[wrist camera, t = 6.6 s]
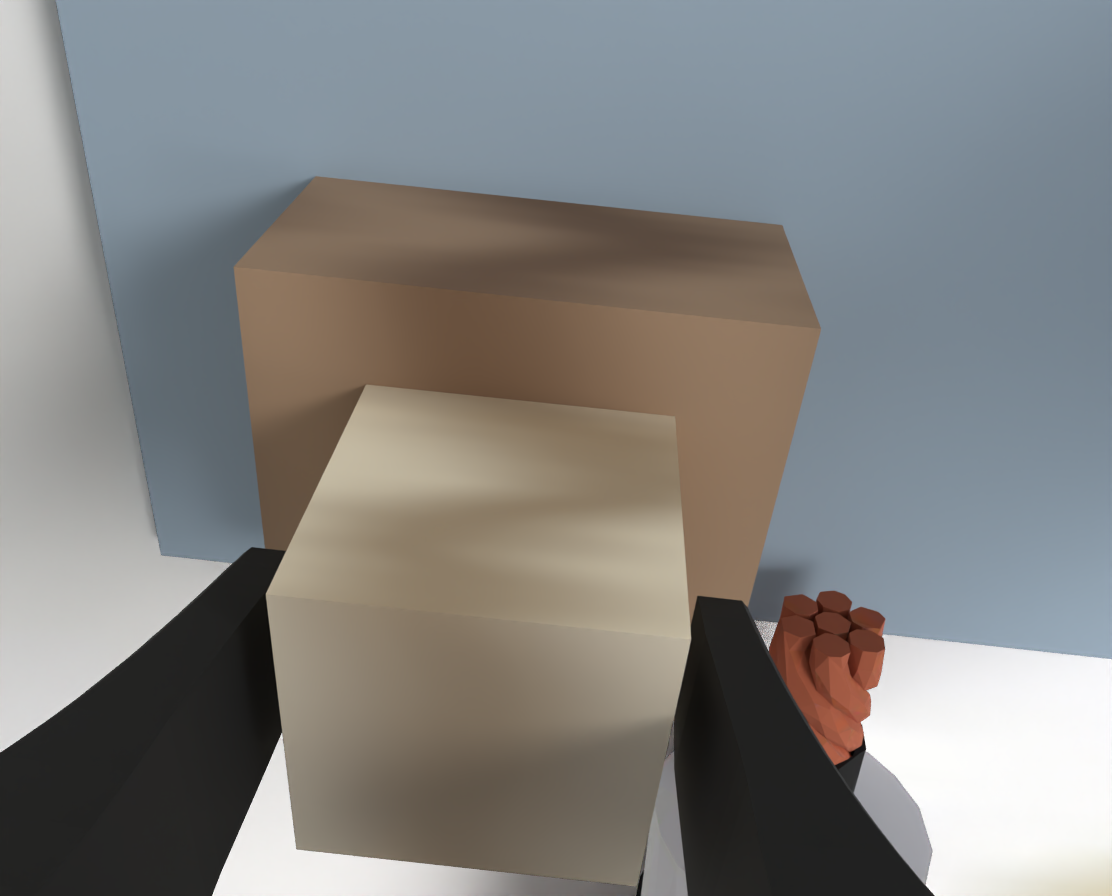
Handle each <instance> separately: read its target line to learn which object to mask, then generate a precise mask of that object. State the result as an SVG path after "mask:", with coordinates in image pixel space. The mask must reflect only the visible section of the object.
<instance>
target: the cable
mask: <svg viewBox="0 0 1112 896" xmlns="http://www.w3.org/2000/svg"><path fill="white" fill-rule="evenodd" d="M851 605H852V601H851V600H850V599H849V598H848V597H847V596H846V595H845V594H843V593H840V592H837V591H823V592H820V593H819V595H818V597H817V599H816V601H814V600H812V599H810V598H809V597H807V596H805V595H803V594H799V595H792V596H784V601H783V606H782V611H781V615H780V619H779V622H778V624H777V627H776V630H775V633H774V636H773V638H772V641H771V644H770V647H769V653H770V655H771V657H772V659H773V661H774V663H775V665H776V667H777V669H778V671H779V672H780V674H781V676H782V678H783V680H784V682H785V684H786V685H787V687H788V689H789V691H790V693H791V694H792V696H793V698H794V700H795V701H796V703H797V705H798V706H799V708H800V710H801V712H802V713H803V715H804V717H805V718H806V720H807V722H808V723H809V725H810V727H811V729H812V730H813V732H814V734H815V735H816V737H817V738H818V740H819V742H820V743H821V745H822V746H823V748H824V750H825V751H826V753H827V754H828V756H829V757H830V759H831V760H832V762H833V763H834V765H835V766H836V768H837V769H838V771H839V772H840V774H841V775H842V777H843V778H844V780H845V781H846V783H847V784H848V786H849V787H850V789H851V790H852V792H853V793H854V794H855V796H856V797H857V799H858V800H859V802H860V803H861V804H862V806H863V807H864V808H865V810H866V811H867V813H868V814H869V815H870V817H871V818H872V819H873V821H874V822H875V823H876V825H877V826H878V827H879V829H880V830H881V831H882V832H883V834H884V835H885V836H886V838H887V839H888V840H889V841H890V843H891V844H892V845H893V847H894V848H895V849H896V850H897V852H898V853H899V854H900V855H901V857H902V858H903V859H904V860H905V861H906V863H907V864H908V865H909V866H910V867H911V869H912V870H913V871H914V872H915V873H916V875H917V876H918V877H919V878H920V879H921V881H922V882H923V883H924V884H926V880H927V875H928V870H929V865H930V861H931V856H932V848H931V844H930V841H929V838H928V835H927V831H926V828H925V825H924V822H923V818H922V815H921V812H920V809H919V807H918V805H917V804H916V803H915V801H914V800H913V799H912V797H911V796H910V795H909V793H908V792H907V791H906V790H905V788H904V787H903V786H902V784H901V783H900V782H899V780H898V779H897V778H896V776H895V775H893V774H892V773H891V772H890V771H889V770H888V769H886V768H885V767H884V766H883V765H882V764H881V763H880V762H878V761H877V760H876V759H875V758H874V757H873V756H872V755H870V754H869V753H868V752H866V746H865V740H864V732H863V728H862V725H861V721H863V720H864V719H865V718H867V717H868V716H870V709H871V698H870V694H869V693H868V692H867V691H866V690H868V689H871V688H874V687H876V686H877V685H878V682H879V679H880V676H881V671H882V664H883V658H884V652H885V646H884V639H883V638H882V634H883V629H884V624H885V619H886V618H884V617H883V616H882V615H881V614H880V613H879V612H877V611H874V610H871V609H867V608H864V607H859V608H857V609H854V610H852V611H850V610H851ZM636 896H688V893H687V884H686V874H685V865H684V856H683V847H682V838H681V829H680V820H679V811H678V801H677V792H676V782H675V772H674V751H673V752H672V753H671V754H670V755H669V756H668V757H667V758H666V759H665V761H664V766H663V770H662V775H661V780H660V784H659V789H658V793H657V798H656V802H655V807H654V811H653V816H652V821H651V825H650V830H649V836H648V844H647V852H646V860H645V867H644V871H643V872H642V874H641V876H640V880H639V884H638V889H637V894H636Z"/></svg>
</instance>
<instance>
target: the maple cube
mask: <svg viewBox="0 0 1112 896" xmlns="http://www.w3.org/2000/svg"><path fill="white" fill-rule="evenodd" d="M266 601H267V609H268V618H269V626H270V634H271V643H272V651H273V659H274V667H275V676H276V684H277V692H278V701H279V709H280V717H281V726H282V734H283V742H284V751H285V759H286V767H287V776H288V784H289V792H290V800H291V809H292V817H293V825H294V834H295V842H296V849H298V850H307V851H316V852H325V853H334V854H343V855H353V856H362V857H371V858H380V859H389V860H398V861H407V862H416V863H425V864H435V865H444V866H453V867H462V868H471V869H480V870H489V871H498V872H507V873H517V874H526V875H535V876H544V877H553V878H562V879H571V880H580V881H589V882H599V883H608V884H617V885H626V886H635V887H637V884H638V880H639V875H640V871H641V866H642V862H643V857H644V853H645V848H646V843H647V839H648V834H649V830H650V825H651V821H652V816H653V811H654V807H655V802H656V798H657V793H658V789H659V784H660V780H661V775H662V770H663V766H664V761H665V757H666V752H667V748H668V743H669V738H670V734H671V729H672V725H673V720H674V716H675V711H676V707H677V702H678V697H679V693H680V688H681V684H682V679H683V675H684V670H685V665H686V661H687V656H688V652H689V647H690V643H691V630H690V616H689V602H688V588H687V574H686V560H685V546H684V532H683V518H682V504H681V490H680V477H679V463H678V449H677V435H676V421H675V416H666V415H656V414H647V413H637V412H627V411H618V410H608V409H598V408H589V407H579V406H569V405H559V404H550V403H540V402H530V401H521V400H511V399H501V398H492V397H482V396H472V395H463V394H453V393H443V392H434V391H424V390H414V389H404V388H395V387H385V386H375V385H366V386H365V388H364V390H363V392H362V394H361V396H360V398H359V400H358V402H357V404H356V407H355V409H354V411H353V413H352V415H351V417H350V419H349V421H348V423H347V425H346V427H345V430H344V432H343V434H342V436H341V438H340V440H339V442H338V444H337V446H336V448H335V450H334V453H333V455H332V457H331V459H330V461H329V463H328V465H327V467H326V469H325V471H324V473H323V475H322V478H321V480H320V482H319V484H318V486H317V488H316V490H315V492H314V494H313V496H312V498H311V501H310V503H309V505H308V507H307V509H306V511H305V513H304V515H303V517H302V519H301V521H300V524H299V526H298V528H297V530H296V532H295V534H294V536H293V538H292V540H291V542H290V544H289V547H288V549H287V551H286V553H285V555H284V557H283V559H282V561H281V563H280V565H279V567H278V570H277V572H276V574H275V576H274V578H273V580H272V582H271V584H270V586H269V588H268V590H267V593H266Z"/></svg>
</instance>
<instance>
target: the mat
mask: <svg viewBox="0 0 1112 896" xmlns="http://www.w3.org/2000/svg"><path fill="white" fill-rule="evenodd" d="M56 5H57V10H58V16H59V21H60V26H61V31H62V37H63V42H64V47H65V52H66V58H67V63H68V68H69V73H70V79H71V84H72V89H73V94H74V100H75V105H76V110H77V115H78V121H79V126H80V131H81V136H82V142H83V147H84V152H85V157H86V163H87V168H88V173H89V178H90V184H91V189H92V194H93V199H94V205H95V210H96V215H97V221H98V226H99V231H100V236H101V242H102V247H103V252H104V257H105V263H106V268H107V273H108V278H109V284H110V289H111V294H112V299H113V305H114V310H115V315H116V320H117V326H118V331H119V336H120V341H121V347H122V352H123V357H124V362H125V368H126V373H127V378H128V383H129V389H130V394H131V399H132V404H133V410H134V415H135V420H136V425H137V431H138V436H139V441H140V446H141V452H142V457H143V462H144V468H145V473H146V478H147V483H148V489H149V494H150V499H151V504H152V510H153V515H154V520H155V525H156V531H157V536H158V541H159V546H160V552H161V555H164V556H173V557H183V558H192V559H201V560H210V561H219V562H228V563H234V562H235V561H236V560H237V559H238V558H239V557H240V556H241V555H242V554H243V553H244V552H246V551H247V550H248V549H250V548H251V547H256V548H265V545H264V536H263V527H262V518H261V509H260V500H259V491H258V482H257V473H256V464H255V455H254V446H253V437H252V428H251V419H250V410H249V401H248V392H247V383H246V374H245V365H244V356H243V347H242V338H241V329H240V320H239V311H238V302H237V293H236V284H235V275H234V266H235V265H236V264H237V262H238V261H239V260H240V259H241V258H242V257H243V256H244V255H245V254H246V253H247V251H248V250H249V249H250V248H251V247H252V246H253V245H254V244H255V243H256V242H257V240H258V239H259V238H260V237H261V236H262V235H263V234H264V233H265V232H266V231H267V229H268V228H269V227H270V226H271V225H272V224H273V223H274V222H275V221H276V220H277V218H278V217H279V216H280V215H281V214H282V213H283V212H284V211H285V210H286V209H287V207H288V206H289V205H290V204H291V203H292V202H293V201H294V200H295V199H296V197H297V196H298V195H299V194H300V193H301V192H302V191H303V190H304V189H305V188H306V186H307V185H308V184H309V183H310V182H311V181H312V180H313V179H314V178H315V177H316V176H319V177H328V178H338V179H347V180H357V181H367V182H376V183H386V184H395V185H405V186H414V187H424V188H433V189H443V190H452V191H462V192H472V193H481V194H491V195H500V196H510V197H519V198H529V199H538V200H548V201H557V202H567V203H576V204H586V205H596V206H605V207H615V208H624V209H634V210H643V211H653V212H662V213H672V214H681V215H691V216H701V217H710V218H720V219H729V220H739V221H748V222H758V223H767V224H777V225H782V226H783V228H784V231H785V234H786V236H787V239H788V242H789V244H790V247H791V250H792V252H793V255H794V258H795V260H796V263H797V266H798V268H799V271H800V274H801V276H802V279H803V282H804V284H805V287H806V290H807V292H808V295H809V298H810V300H811V303H812V306H813V308H814V311H815V314H816V316H817V319H818V322H819V324H820V327H821V332H820V336H819V339H818V343H817V347H816V351H815V355H814V358H813V362H812V366H811V370H810V374H809V377H808V381H807V385H806V389H805V392H804V396H803V400H802V404H801V408H800V411H799V415H798V419H797V423H796V426H795V430H794V434H793V438H792V442H791V445H790V449H789V453H788V457H787V461H786V464H785V468H784V472H783V476H782V479H781V483H780V487H779V491H778V495H777V498H776V502H775V506H774V510H773V514H772V517H771V521H770V525H769V529H768V532H767V536H766V540H765V544H764V548H763V551H762V555H761V559H760V563H759V566H758V570H757V574H756V578H755V582H754V585H753V589H752V593H751V597H750V601H749V604H748V609H749V611H750V613H751V616H752V618H753V620H759V621H768V622H779V619H780V615H781V611H782V606H783V601H784V596H792V595H799V594H803V595H805V596H807V597H809V598H810V599H812V600H814V601H816V599H817V597H818V595H819V593H820V592H823V591H837V592H840V593H843V594H845V595H846V596H847V597H848V598H849V599H850V600H851V601H852V605H851V610H850V611H852V610H854V609H857V608H859V607H864V608H867V609H871V610H874V611H877V612H879V613H880V614H881V615H882V616H883V617H884V618H886V619H885V624H884V629H883V634H887V635H897V636H906V637H915V638H924V639H933V640H942V641H952V642H961V643H970V644H979V645H988V646H997V647H1006V648H1016V649H1025V650H1034V651H1043V652H1052V653H1061V654H1071V655H1080V656H1089V657H1098V658H1107V659H1112V0H56Z"/></svg>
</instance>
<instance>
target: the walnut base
mask: <svg viewBox="0 0 1112 896" xmlns="http://www.w3.org/2000/svg"><path fill="white" fill-rule="evenodd" d="M234 275H235V284H236V293H237V302H238V311H239V320H240V329H241V338H242V347H243V356H244V365H245V374H246V383H247V392H248V401H249V410H250V419H251V428H252V437H253V446H254V455H255V464H256V473H257V482H258V491H259V500H260V509H261V518H262V527H263V536H264V545H265V549H274V550H283V551H287V549H288V547H289V544H290V542H291V540H292V538H293V536H294V534H295V532H296V530H297V528H298V526H299V524H300V521H301V519H302V517H303V515H304V513H305V511H306V509H307V507H308V505H309V503H310V501H311V498H312V496H313V494H314V492H315V490H316V488H317V486H318V484H319V482H320V480H321V478H322V475H323V473H324V471H325V469H326V467H327V465H328V463H329V461H330V459H331V457H332V455H333V453H334V450H335V448H336V446H337V444H338V442H339V440H340V438H341V436H342V434H343V432H344V430H345V427H346V425H347V423H348V421H349V419H350V417H351V415H352V413H353V411H354V409H355V407H356V404H357V402H358V400H359V398H360V396H361V394H362V392H363V390H364V388H365V386H366V385H375V386H385V387H395V388H404V389H414V390H424V391H434V392H443V393H453V394H463V395H472V396H482V397H492V398H501V399H511V400H521V401H530V402H540V403H550V404H559V405H569V406H579V407H589V408H598V409H608V410H618V411H627V412H637V413H647V414H656V415H666V416H675V421H676V435H677V449H678V463H679V477H680V490H681V504H682V518H683V532H684V546H685V560H686V574H687V588H688V602H689V616H690V627H691V622H692V618H693V613H694V609H695V604H696V600H697V596H705V597H714V598H723V599H733V600H742V601H743V602H744V604H745V605H746V606H747V607H748V604H749V601H750V597H751V593H752V589H753V585H754V582H755V578H756V574H757V570H758V566H759V563H760V559H761V555H762V551H763V548H764V544H765V540H766V536H767V532H768V529H769V525H770V521H771V517H772V514H773V510H774V506H775V502H776V498H777V495H778V491H779V487H780V483H781V479H782V476H783V472H784V468H785V464H786V461H787V457H788V453H789V449H790V445H791V442H792V438H793V434H794V430H795V426H796V423H797V419H798V415H799V411H800V408H801V404H802V400H803V396H804V392H805V389H806V385H807V381H808V377H809V374H810V370H811V366H812V362H813V358H814V355H815V351H816V347H817V343H818V339H819V336H820V332H821V327H820V324H819V322H818V319H817V316H816V314H815V311H814V308H813V306H812V303H811V300H810V298H809V295H808V292H807V290H806V287H805V284H804V282H803V279H802V276H801V274H800V271H799V268H798V266H797V263H796V260H795V258H794V255H793V252H792V250H791V247H790V244H789V242H788V239H787V236H786V234H785V231H784V228H783V226H782V225H777V224H767V223H758V222H748V221H739V220H729V219H720V218H710V217H701V216H691V215H681V214H672V213H662V212H653V211H643V210H634V209H624V208H615V207H605V206H596V205H586V204H576V203H567V202H557V201H548V200H538V199H529V198H519V197H510V196H500V195H491V194H481V193H472V192H462V191H452V190H443V189H433V188H424V187H414V186H405V185H395V184H386V183H376V182H367V181H357V180H347V179H338V178H328V177H319V176H316V177H315V178H314V179H313V180H312V181H311V182H310V183H309V184H308V185H307V186H306V188H305V189H304V190H303V191H302V192H301V193H300V194H299V195H298V196H297V197H296V199H295V200H294V201H293V202H292V203H291V204H290V205H289V206H288V207H287V209H286V210H285V211H284V212H283V213H282V214H281V215H280V216H279V217H278V218H277V220H276V221H275V222H274V223H273V224H272V225H271V226H270V227H269V228H268V229H267V231H266V232H265V233H264V234H263V235H262V236H261V237H260V238H259V239H258V240H257V242H256V243H255V244H254V245H253V246H252V247H251V248H250V249H249V250H248V251H247V253H246V254H245V255H244V256H243V257H242V258H241V259H240V260H239V261H238V262H237V264H236V265H235V266H234ZM673 721H674V720H673Z"/></svg>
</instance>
